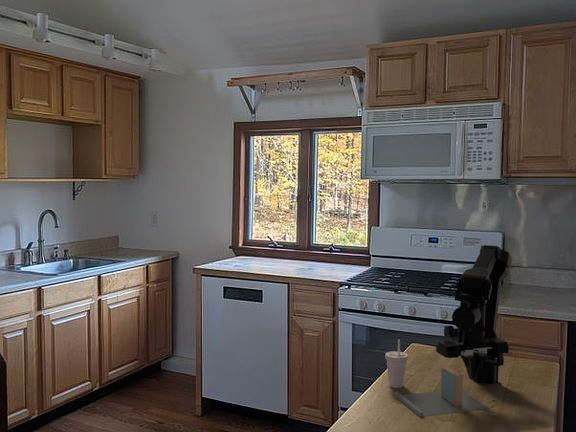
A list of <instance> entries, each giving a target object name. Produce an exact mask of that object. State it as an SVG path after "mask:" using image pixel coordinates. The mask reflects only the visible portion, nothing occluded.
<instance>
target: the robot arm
mask: <svg viewBox="0 0 576 432" xmlns="http://www.w3.org/2000/svg"><path fill="white" fill-rule="evenodd" d="M512 260H513V259H512V255H511V254H510V252H509V251H506V250H504V249H503V248H501V247H500V246H498V245H488V244H483V245H481V246H480V250H479V254H478V255H477V257H476V261H475V262H474V264H473V266H472V267H471V268H467V269H466V270H465V271H463V272H462V274H461V276H460V277H459V278H458V283H457V285H456V290H455V296H454V301H457V302H459V303H460V304H459V306H458V307H457V308H455V309H454V311H453V312H452V315H451V321H452V323H453V325H454V326H455V327H456V328H454V326H453V325H445V326H443V327H444V328H443V335H444V338H445V339H450V340H446V341H438V342H437V344H436V346H435V352H436V353H437V354H439V355H441V356H443V357H444V358H446V359H452V358H453V359H457V358H459V357H460V358H461V359H462V361H463V364H464V366H465V369H466V372H467V375H468V378H469V380H471V381H473V382H475V383H476V384H483V385H484V384H485V385H492V384H493V385H494V384H495V383H497V384H498V385H500V386H502V383H501V382H500V381H499V367H501V366H504V365H505V356H504V354H509V353H510V345H509V343H508V342H507V341H506V340H504V339H502V338H500V337H499V335H498V333H497V331H496V329H497V321H498V312H499V304H500V298H501V296H500V295H501V287H502V282H503V281H504V280H505V279H506V278H507V276H508V275H509V270H510V269H511V267H512ZM454 341H456V342H457V344H456V343H455V342H454ZM458 343H460V344H458Z"/></svg>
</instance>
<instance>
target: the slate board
mask: <svg viewBox="0 0 576 432" xmlns="http://www.w3.org/2000/svg"><path fill="white" fill-rule="evenodd" d="M393 394H394V396H393V397H395V398H396V399H397V400H399V401H400V402H401V403H402V404H404V405H405V407H407V408H408V409H409V410H410V411H412V412H413V413H414V414H416V415H417V416H418V417H419V418H422V417H431V416H440V415H446V414H454V413H455V414H456V413H465V412H470V411H471V412H473V411H480V410H490V409H491V407H489V406H487V405H486V404H484V403H482V401H480V400H478V399H477V398H475V397H473V396H471V394H469V393H467V392H466V391H464V389H462V406H454V405H453V404H451V403H450V402H448V401H447V400H446V399H444V398H443V397H441V390H436V391H434V390H433V391H428V392H427V391H425V392H419V393H418V392H417V393H409V394H401V393H400V392H399V391H394V393H393Z"/></svg>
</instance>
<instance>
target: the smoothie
mask: <svg viewBox="0 0 576 432" xmlns="http://www.w3.org/2000/svg"><path fill="white" fill-rule="evenodd" d="M400 348H401V339H400V338H399V339H397V351H395V350H393V351H391V350H390V351H388V352H385V356H384V358H385V359H386V367H387V376H388V386H389V387H390V388H395V389H400V388H403V387H404V383H405V375H406V369H407V361H408V360H409V354H408V353H406V352H403V351H401V349H400Z"/></svg>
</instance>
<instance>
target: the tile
mask: <svg viewBox="0 0 576 432" xmlns="http://www.w3.org/2000/svg"><path fill="white" fill-rule="evenodd" d="M440 371H441V378H440V380H441V381H440V382H441V384H440V391H441V397H443V398H444V399H446V400H447V401H448V402H450V403H451V404H453V405H454V406H462V390H464V389H463V383H464V375H463V374H462V373H460V372H458V371H457V370H456V369H453V368H452V367H450V366H441V370H440Z"/></svg>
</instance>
